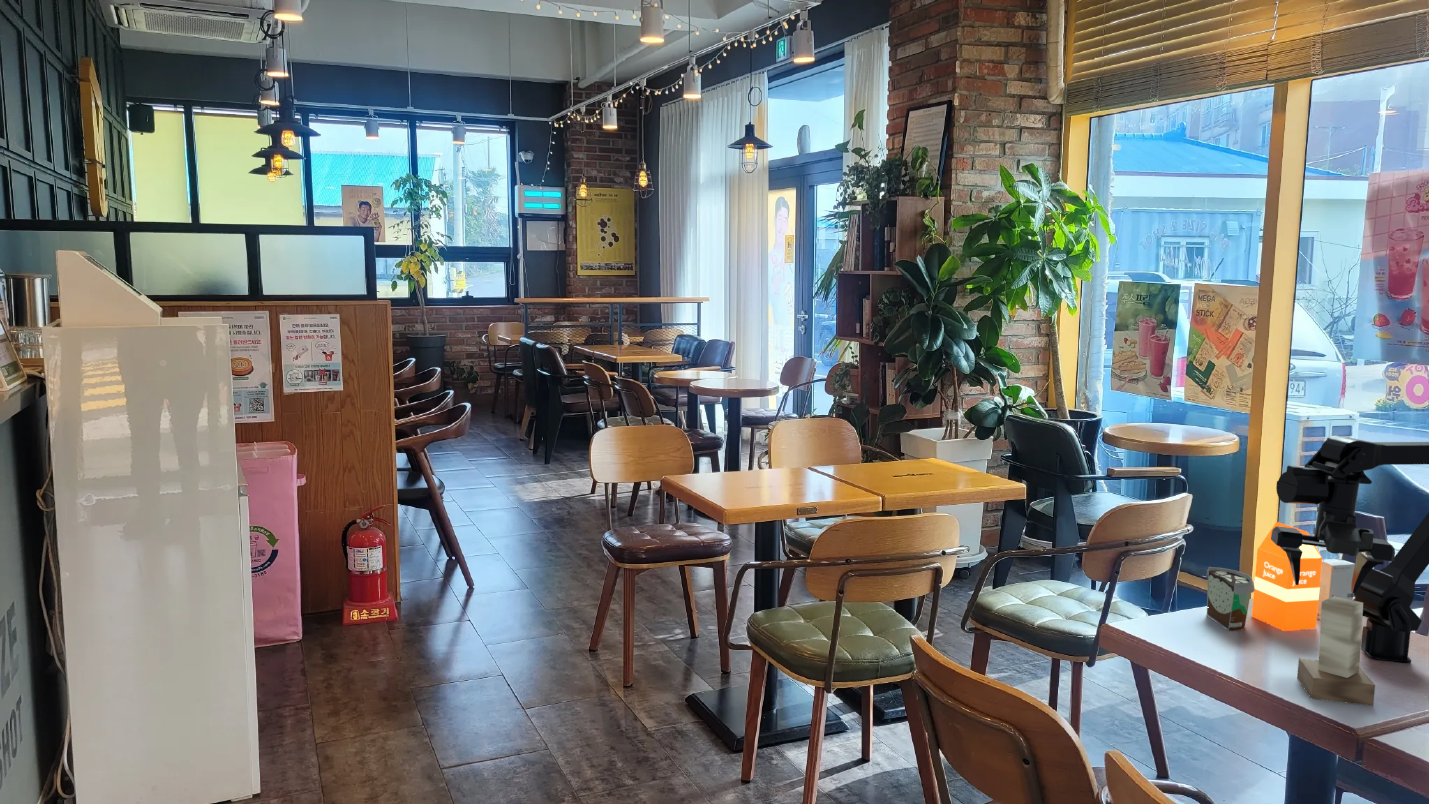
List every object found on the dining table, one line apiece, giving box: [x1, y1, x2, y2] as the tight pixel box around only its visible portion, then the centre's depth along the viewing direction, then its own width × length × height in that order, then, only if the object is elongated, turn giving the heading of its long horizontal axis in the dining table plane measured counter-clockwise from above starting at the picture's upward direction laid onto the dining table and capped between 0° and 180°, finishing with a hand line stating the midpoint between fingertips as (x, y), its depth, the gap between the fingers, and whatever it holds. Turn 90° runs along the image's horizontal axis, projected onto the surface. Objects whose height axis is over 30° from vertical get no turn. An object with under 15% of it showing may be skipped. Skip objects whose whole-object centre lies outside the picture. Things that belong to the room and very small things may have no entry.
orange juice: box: [1251, 521, 1323, 632], centre depth 203 cm, size 8×9×20 cm
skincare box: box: [1316, 558, 1355, 621], centre depth 206 cm, size 6×4×12 cm
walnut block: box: [1296, 657, 1376, 707], centre depth 170 cm, size 9×9×4 cm
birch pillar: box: [1318, 596, 1363, 678], centre depth 169 cm, size 4×4×12 cm
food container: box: [1206, 566, 1255, 632], centre depth 203 cm, size 12×6×10 cm, turn 179°
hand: (1324, 588), depth 184 cm, fingers open, 9 cm apart
